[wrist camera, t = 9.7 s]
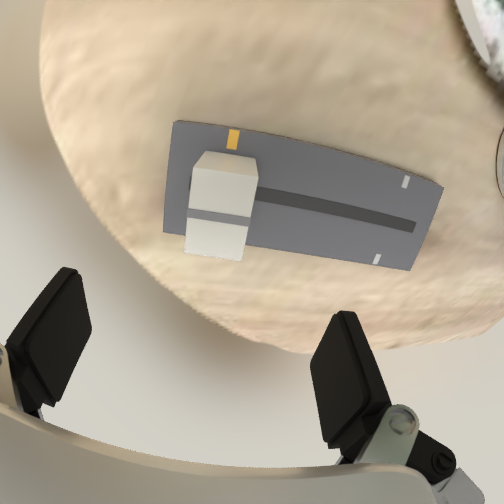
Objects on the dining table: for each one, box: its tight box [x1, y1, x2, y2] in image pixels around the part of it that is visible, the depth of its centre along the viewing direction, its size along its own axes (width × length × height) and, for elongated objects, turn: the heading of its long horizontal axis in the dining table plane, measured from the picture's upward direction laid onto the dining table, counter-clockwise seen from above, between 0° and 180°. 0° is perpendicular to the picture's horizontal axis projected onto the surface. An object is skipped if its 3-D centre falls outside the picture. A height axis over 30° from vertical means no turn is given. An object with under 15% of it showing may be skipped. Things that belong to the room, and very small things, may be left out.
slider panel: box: [163, 120, 444, 271], centre depth 26 cm, size 26×10×2 cm, turn 79°
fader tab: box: [184, 151, 259, 261], centre depth 21 cm, size 4×6×6 cm
